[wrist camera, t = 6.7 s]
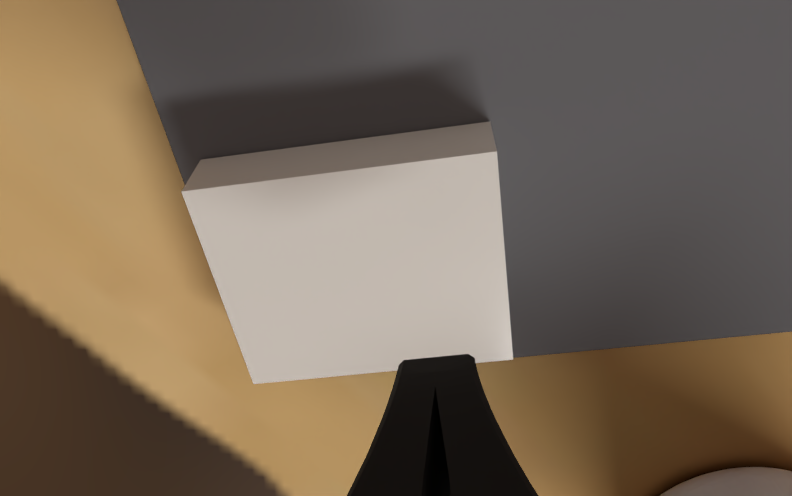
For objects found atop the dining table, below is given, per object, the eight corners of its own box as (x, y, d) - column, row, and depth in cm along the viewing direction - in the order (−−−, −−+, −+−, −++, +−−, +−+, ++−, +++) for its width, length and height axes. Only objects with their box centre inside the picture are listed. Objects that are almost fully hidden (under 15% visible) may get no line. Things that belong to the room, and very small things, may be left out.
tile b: (497, 151, 14) (181, 191, 15) (513, 359, 17) (253, 383, 18) (489, 120, 16) (201, 158, 16) (505, 318, 19) (265, 342, 20)
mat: (1097, -936, 8) (1126, -967, 8) (803, 320, 19) (810, 329, 19) (-97, -610, 10) (-115, -623, 10) (260, 372, 21) (257, 381, 20)
